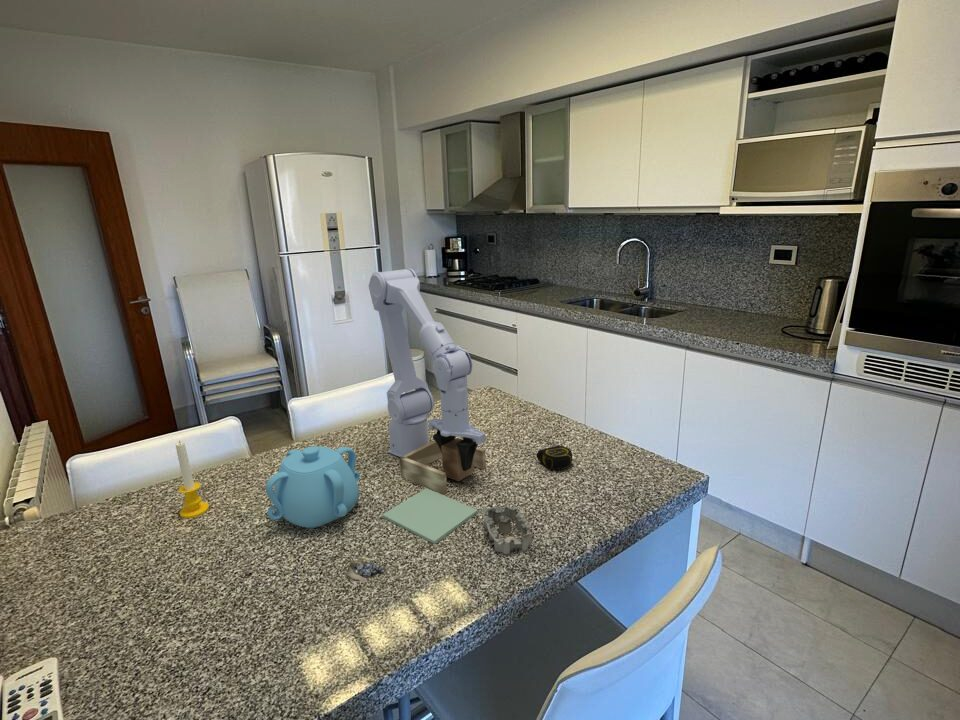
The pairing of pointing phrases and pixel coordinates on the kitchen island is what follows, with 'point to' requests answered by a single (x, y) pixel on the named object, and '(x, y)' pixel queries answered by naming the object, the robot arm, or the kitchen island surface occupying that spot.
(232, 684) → the kitchen island surface
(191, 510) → the candle
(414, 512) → the sage mat
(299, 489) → the decorative pot
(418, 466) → the open-side box
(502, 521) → the egg carton
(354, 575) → the blueberries
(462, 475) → the walnut block
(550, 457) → the tape measure
